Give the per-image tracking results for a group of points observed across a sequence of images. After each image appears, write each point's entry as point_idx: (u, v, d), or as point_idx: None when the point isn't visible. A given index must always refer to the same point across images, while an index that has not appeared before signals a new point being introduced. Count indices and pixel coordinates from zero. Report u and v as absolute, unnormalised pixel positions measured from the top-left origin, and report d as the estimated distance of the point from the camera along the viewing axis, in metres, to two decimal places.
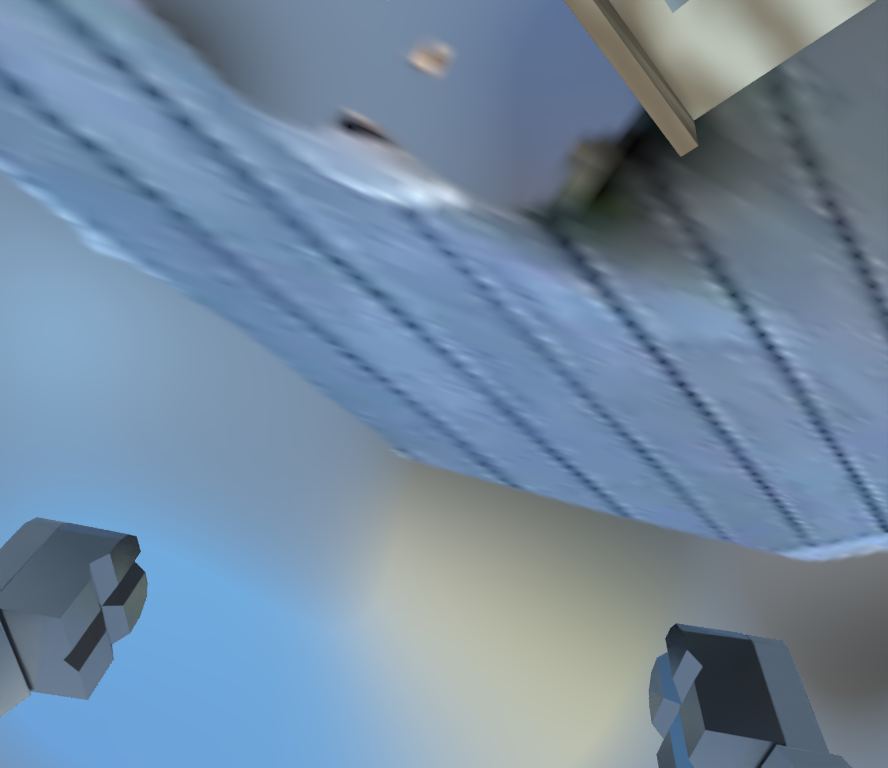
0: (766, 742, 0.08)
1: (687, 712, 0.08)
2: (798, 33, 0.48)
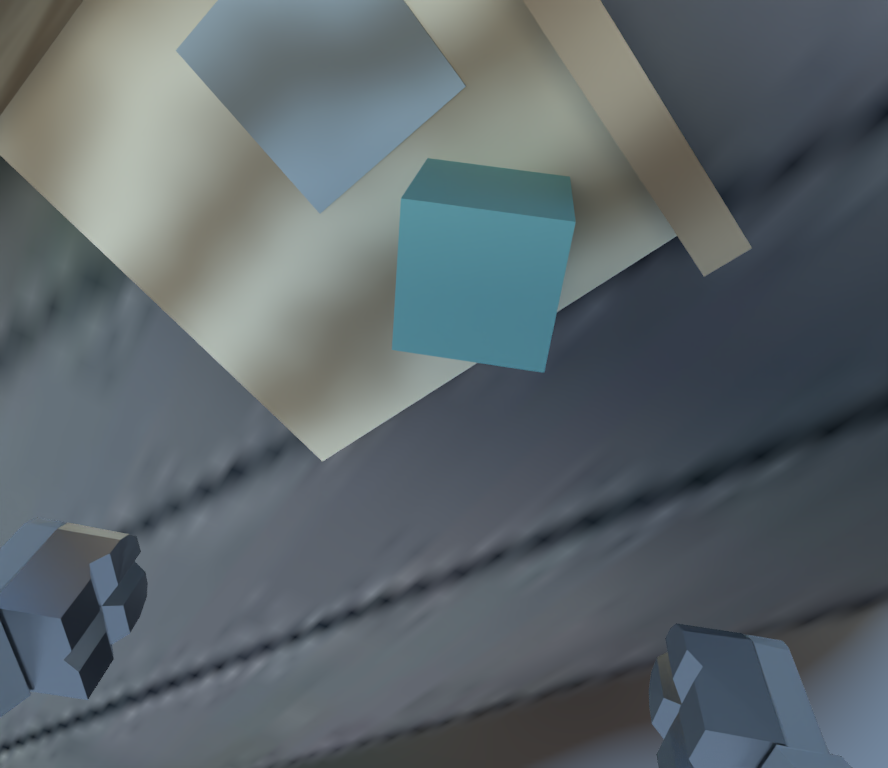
0: (766, 742, 0.08)
1: (687, 712, 0.08)
2: (184, 297, 0.27)
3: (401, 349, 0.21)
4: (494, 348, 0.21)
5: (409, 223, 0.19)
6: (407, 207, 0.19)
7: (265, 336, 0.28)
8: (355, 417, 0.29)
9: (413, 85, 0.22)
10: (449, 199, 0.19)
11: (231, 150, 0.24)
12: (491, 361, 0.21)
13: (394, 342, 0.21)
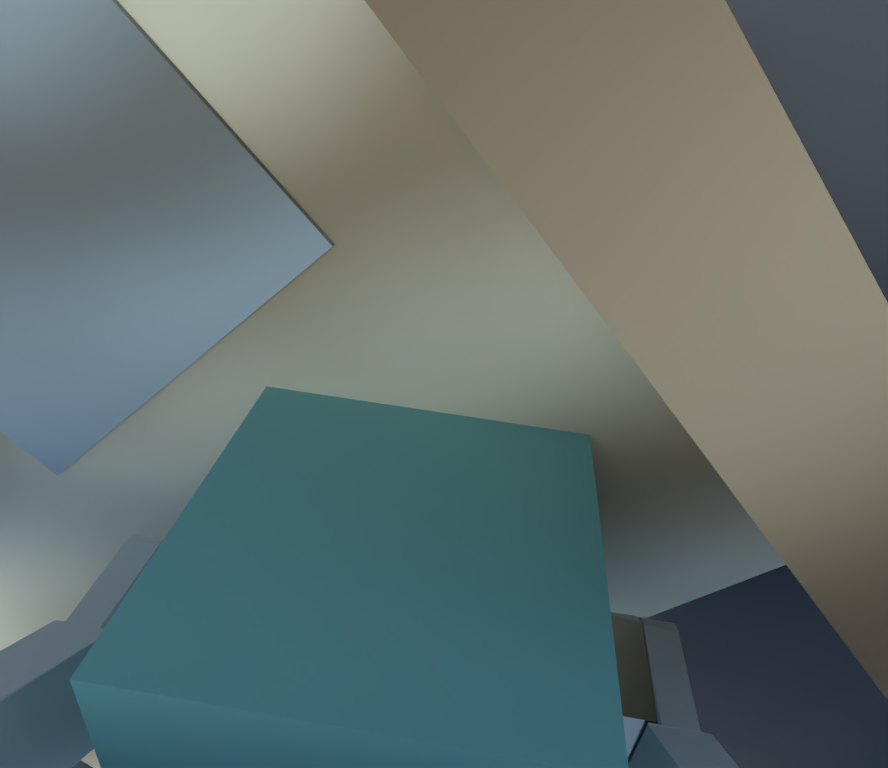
0: (639, 720, 0.08)
1: None
2: None
3: None
4: None
5: (115, 728, 0.06)
6: (96, 699, 0.06)
7: None
8: None
9: (208, 238, 0.09)
10: (236, 657, 0.06)
11: None
12: None
13: None
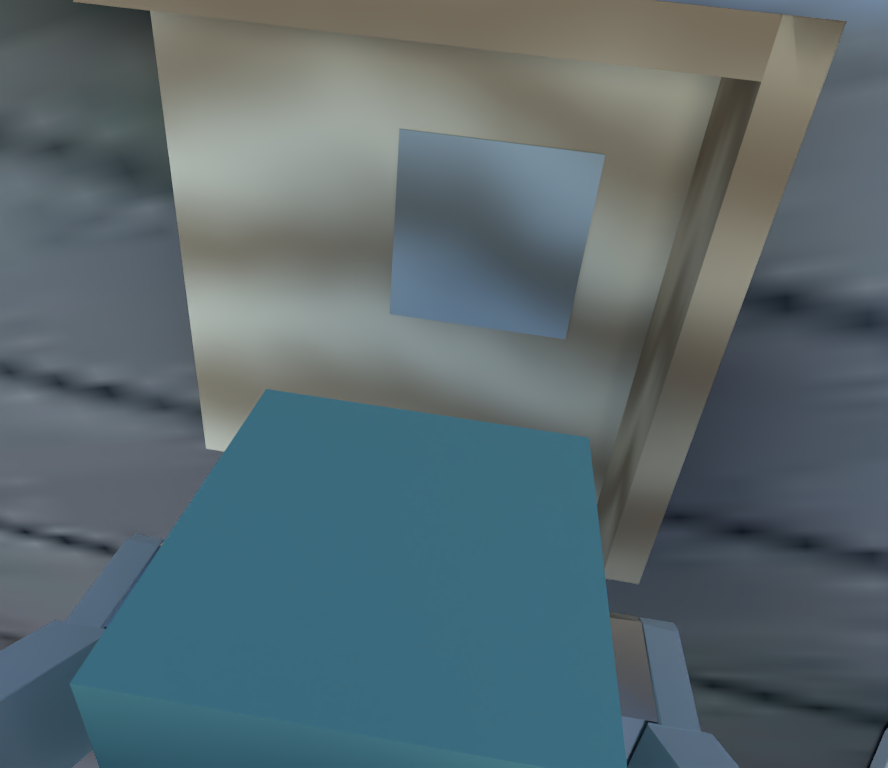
0: (639, 720, 0.08)
1: None
2: (213, 264, 0.26)
3: None
4: None
5: (115, 733, 0.06)
6: (96, 703, 0.06)
7: (254, 342, 0.27)
8: None
9: (535, 307, 0.25)
10: (236, 659, 0.06)
11: (368, 220, 0.24)
12: None
13: None
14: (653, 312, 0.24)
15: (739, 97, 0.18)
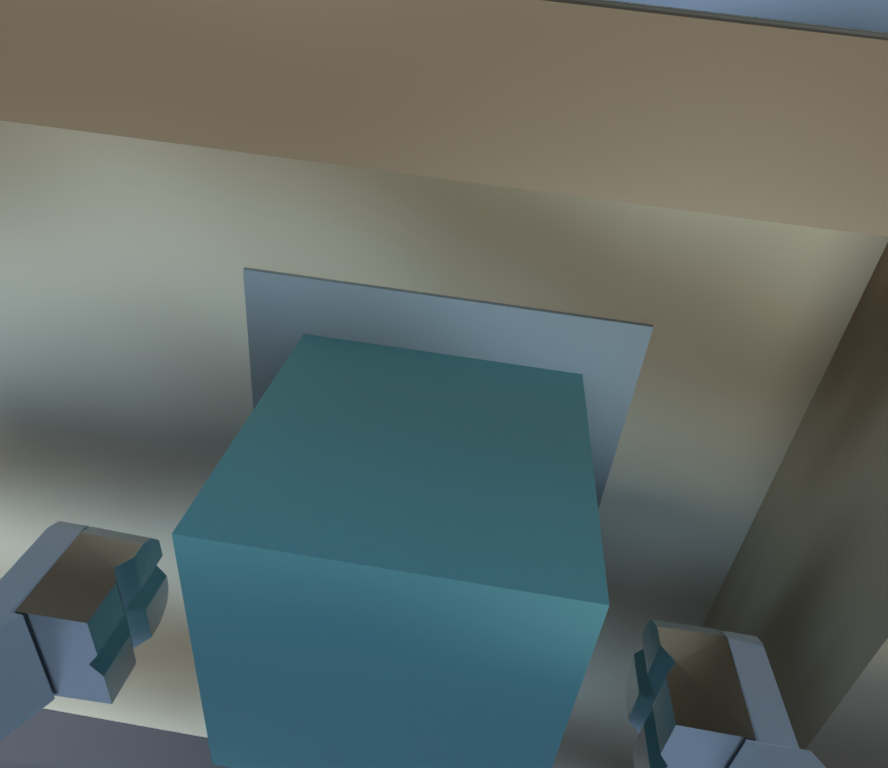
0: (736, 737, 0.08)
1: (660, 707, 0.08)
2: None
3: (232, 765, 0.10)
4: None
5: (203, 579, 0.08)
6: (191, 551, 0.08)
7: None
8: None
9: None
10: (299, 522, 0.08)
11: (207, 415, 0.13)
12: None
13: (215, 754, 0.10)
14: (728, 577, 0.13)
15: None
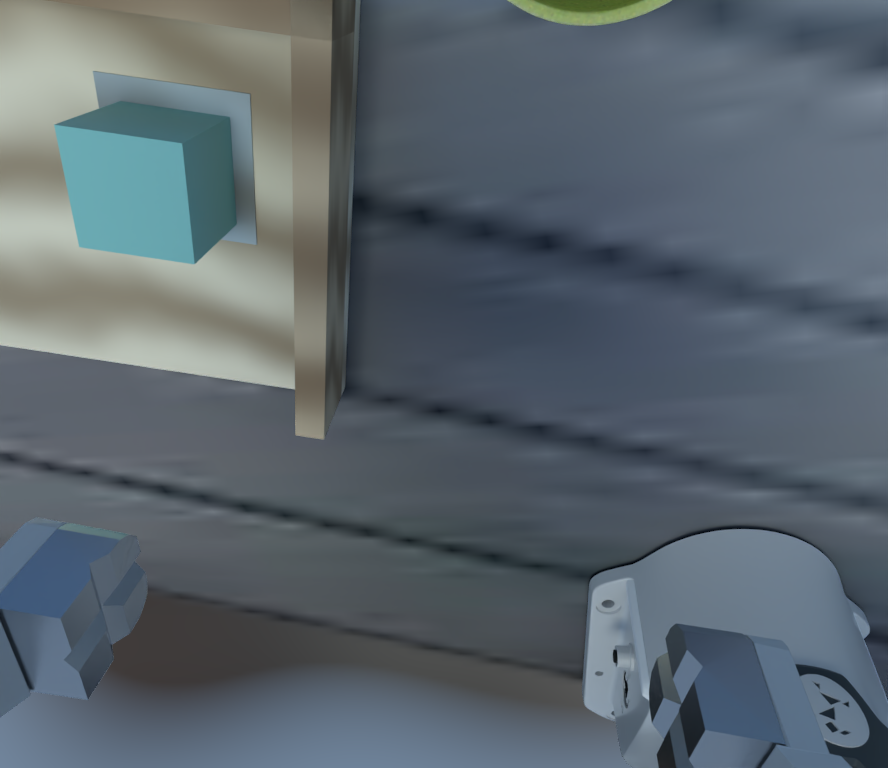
0: (766, 742, 0.08)
1: (687, 712, 0.08)
2: None
3: (86, 246, 0.28)
4: (153, 244, 0.27)
5: (65, 144, 0.25)
6: (60, 131, 0.25)
7: (17, 250, 0.34)
8: (47, 338, 0.37)
9: None
10: (95, 126, 0.25)
11: None
12: (154, 255, 0.28)
13: (79, 241, 0.28)
14: None
15: None
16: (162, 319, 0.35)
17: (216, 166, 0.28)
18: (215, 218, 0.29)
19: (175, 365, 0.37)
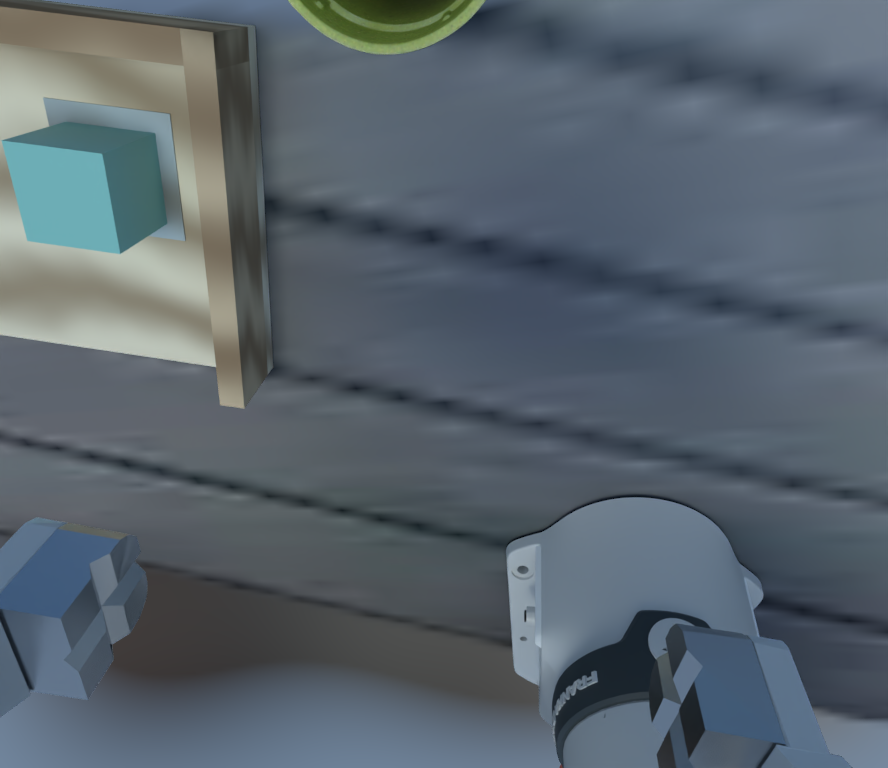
0: (766, 742, 0.08)
1: (687, 712, 0.08)
2: None
3: (33, 240, 0.34)
4: (86, 238, 0.33)
5: (11, 156, 0.31)
6: (6, 146, 0.31)
7: None
8: (17, 325, 0.43)
9: None
10: (35, 141, 0.31)
11: None
12: (87, 247, 0.33)
13: (27, 235, 0.33)
14: None
15: None
16: (112, 307, 0.41)
17: (141, 173, 0.34)
18: (142, 217, 0.35)
19: (125, 348, 0.43)
